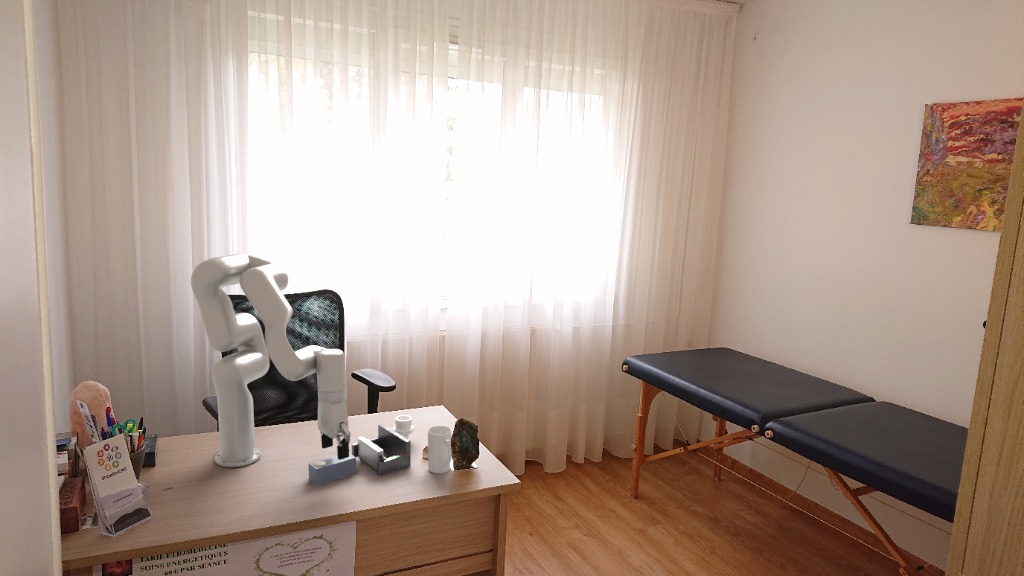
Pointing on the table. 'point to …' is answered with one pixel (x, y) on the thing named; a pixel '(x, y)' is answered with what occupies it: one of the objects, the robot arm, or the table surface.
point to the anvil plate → (369, 452)
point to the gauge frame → (390, 450)
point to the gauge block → (332, 469)
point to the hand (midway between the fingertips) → (335, 452)
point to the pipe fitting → (403, 425)
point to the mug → (439, 449)
